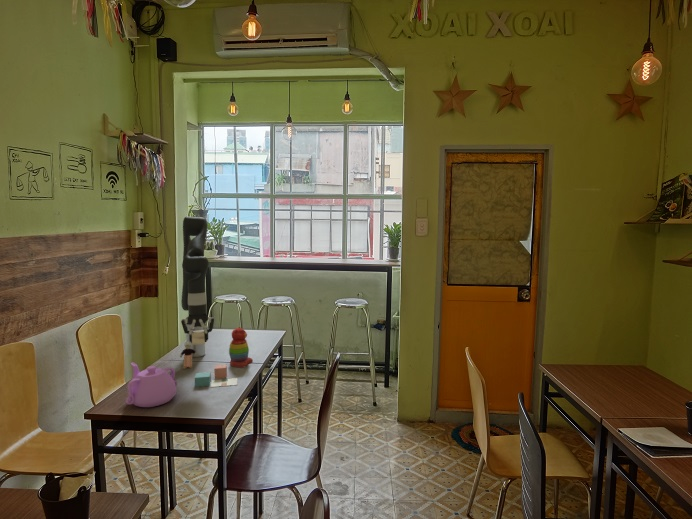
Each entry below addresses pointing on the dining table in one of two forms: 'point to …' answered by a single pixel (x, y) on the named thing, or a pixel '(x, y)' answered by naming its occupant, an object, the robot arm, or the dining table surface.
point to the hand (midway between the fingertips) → (199, 341)
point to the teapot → (151, 386)
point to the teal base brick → (202, 379)
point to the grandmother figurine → (188, 355)
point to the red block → (220, 371)
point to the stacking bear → (239, 349)
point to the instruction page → (224, 382)
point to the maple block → (198, 337)
